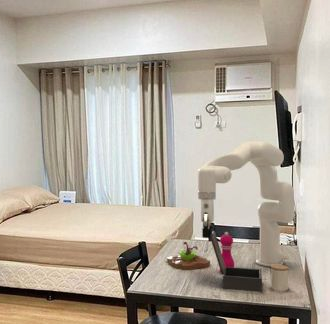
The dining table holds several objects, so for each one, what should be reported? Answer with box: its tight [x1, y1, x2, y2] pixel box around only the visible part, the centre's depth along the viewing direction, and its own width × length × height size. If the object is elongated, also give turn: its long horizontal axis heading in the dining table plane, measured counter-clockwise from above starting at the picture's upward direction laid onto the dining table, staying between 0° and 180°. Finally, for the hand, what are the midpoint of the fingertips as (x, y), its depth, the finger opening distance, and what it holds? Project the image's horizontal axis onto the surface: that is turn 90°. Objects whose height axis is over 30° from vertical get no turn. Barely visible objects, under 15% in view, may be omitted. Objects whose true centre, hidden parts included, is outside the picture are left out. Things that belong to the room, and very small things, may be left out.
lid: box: [210, 230, 225, 276], centre depth 211 cm, size 16×15×1 cm
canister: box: [270, 264, 289, 292], centre depth 203 cm, size 7×7×10 cm
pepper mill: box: [219, 231, 235, 273], centre depth 228 cm, size 7×7×20 cm
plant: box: [166, 241, 211, 271], centre depth 246 cm, size 20×20×11 cm
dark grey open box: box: [222, 266, 263, 293], centre depth 208 cm, size 16×15×6 cm
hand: (206, 235), depth 212 cm, fingers open, 6 cm apart
